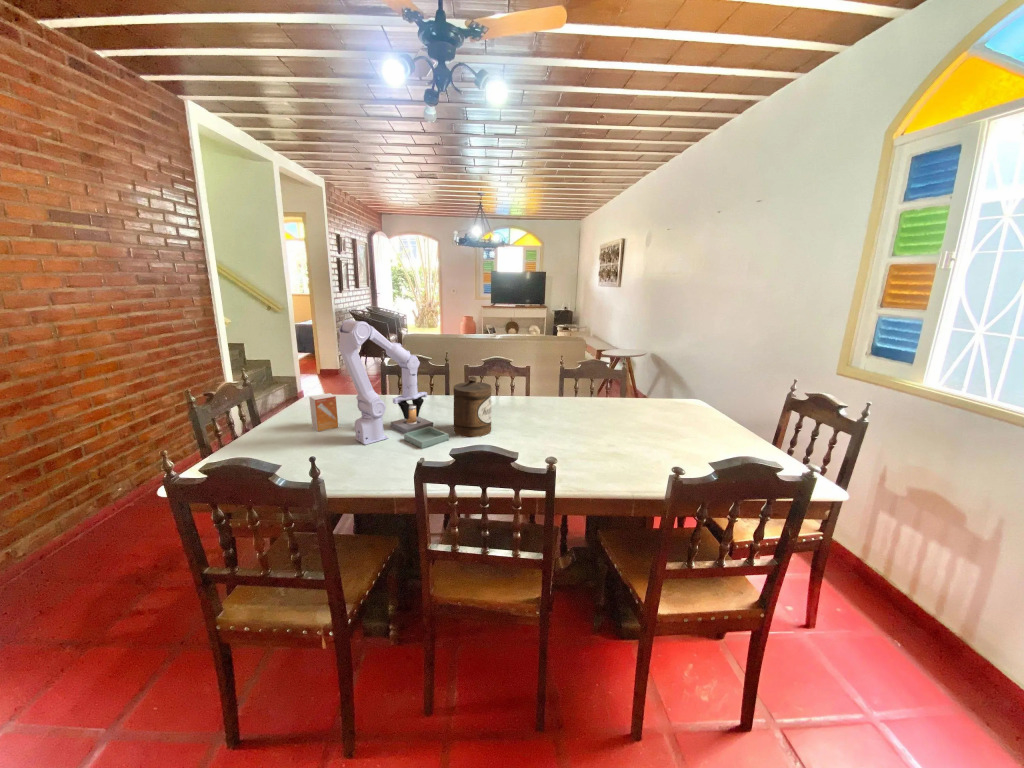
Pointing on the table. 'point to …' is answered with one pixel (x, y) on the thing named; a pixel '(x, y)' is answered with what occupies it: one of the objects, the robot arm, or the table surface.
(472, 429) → the wooden container
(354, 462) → the table surface
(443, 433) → the tray
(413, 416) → the fuse
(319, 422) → the small box
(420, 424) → the grey square frame
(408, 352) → the robot arm
